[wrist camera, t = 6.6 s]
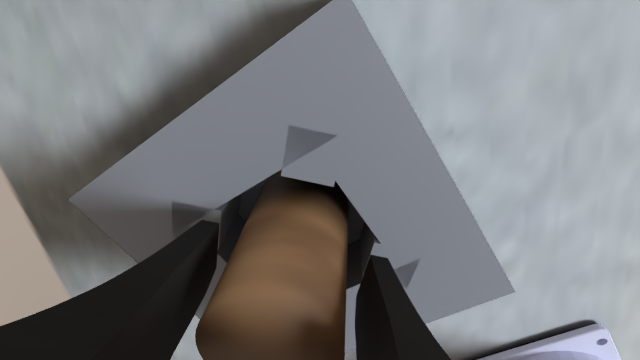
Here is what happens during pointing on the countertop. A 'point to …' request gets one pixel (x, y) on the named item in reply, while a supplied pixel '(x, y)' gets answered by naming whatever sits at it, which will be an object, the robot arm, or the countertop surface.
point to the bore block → (308, 169)
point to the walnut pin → (283, 279)
